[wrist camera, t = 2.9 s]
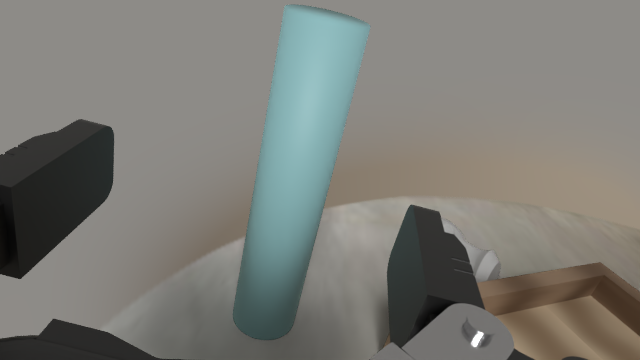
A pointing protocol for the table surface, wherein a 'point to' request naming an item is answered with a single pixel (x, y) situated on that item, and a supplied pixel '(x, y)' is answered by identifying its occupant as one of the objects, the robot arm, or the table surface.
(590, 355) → the box
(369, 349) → the table surface
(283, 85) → the peg
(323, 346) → the table surface
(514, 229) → the table surface
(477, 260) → the pale two-lobed sculpture
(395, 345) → the robot arm
